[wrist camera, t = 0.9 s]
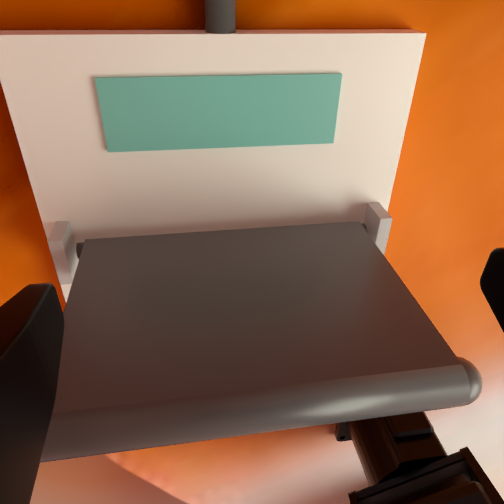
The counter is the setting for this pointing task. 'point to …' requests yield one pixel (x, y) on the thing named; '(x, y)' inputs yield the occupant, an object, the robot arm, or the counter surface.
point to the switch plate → (207, 127)
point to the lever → (241, 339)
